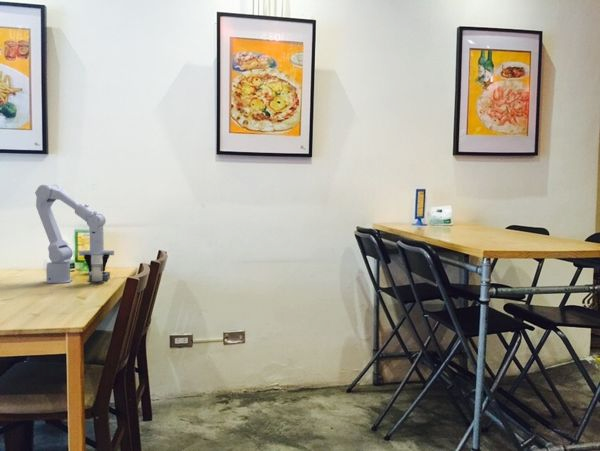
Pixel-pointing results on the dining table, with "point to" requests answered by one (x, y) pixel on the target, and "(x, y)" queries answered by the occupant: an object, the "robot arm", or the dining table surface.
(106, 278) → the housing
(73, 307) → the dining table surface
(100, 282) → the mat
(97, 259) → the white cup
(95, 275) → the end cover
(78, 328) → the dining table surface
